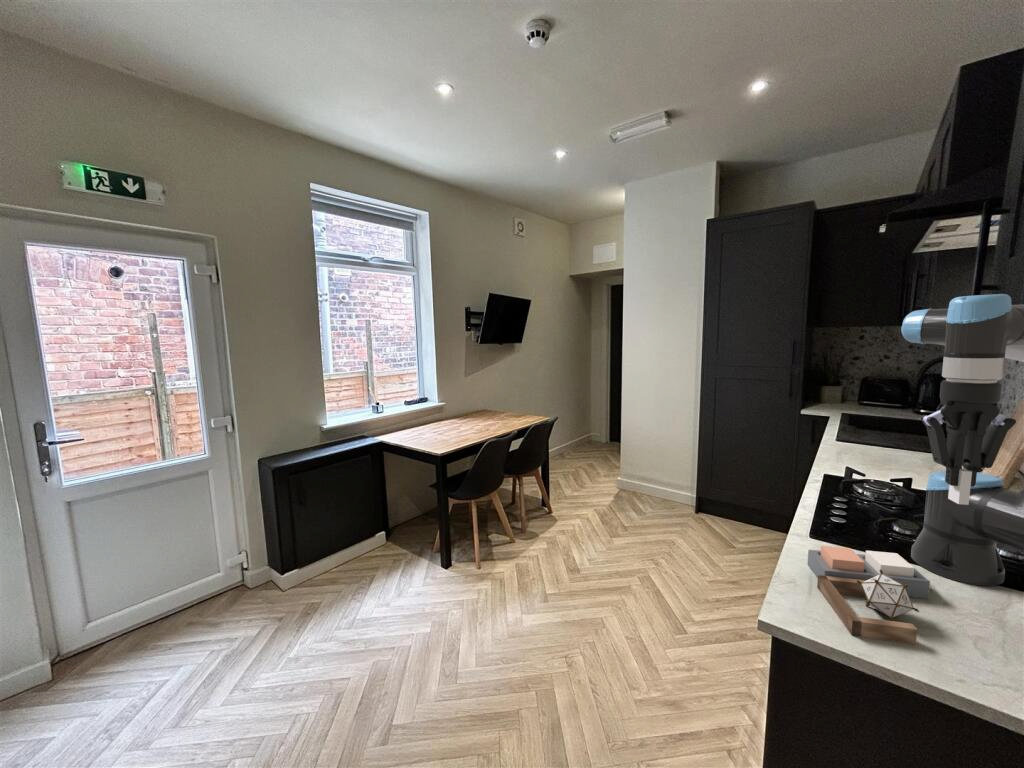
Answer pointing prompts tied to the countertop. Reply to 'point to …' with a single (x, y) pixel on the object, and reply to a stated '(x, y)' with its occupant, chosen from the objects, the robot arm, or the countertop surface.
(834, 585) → the walnut bracket
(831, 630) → the countertop surface
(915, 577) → the key panel
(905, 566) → the ivory key
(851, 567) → the terracotta key
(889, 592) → the game die
